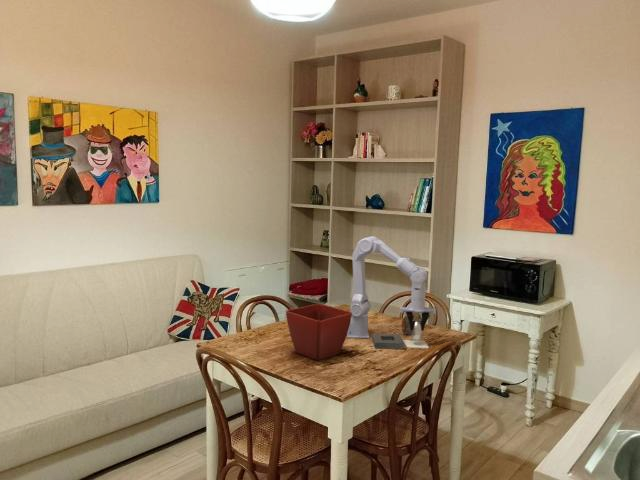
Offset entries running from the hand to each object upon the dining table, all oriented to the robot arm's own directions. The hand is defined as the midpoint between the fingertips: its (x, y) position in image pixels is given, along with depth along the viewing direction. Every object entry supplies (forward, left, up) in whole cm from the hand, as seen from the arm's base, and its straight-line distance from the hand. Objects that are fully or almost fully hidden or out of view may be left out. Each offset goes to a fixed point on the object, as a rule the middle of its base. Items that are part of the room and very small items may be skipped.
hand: (416, 329), depth 215 cm
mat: (0, 0, -6) cm, 6 cm away
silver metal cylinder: (0, 0, -4) cm, 4 cm away
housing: (-12, 0, -6) cm, 14 cm away
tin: (+1, +18, -7) cm, 19 cm away
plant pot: (-41, -13, -7) cm, 44 cm away
